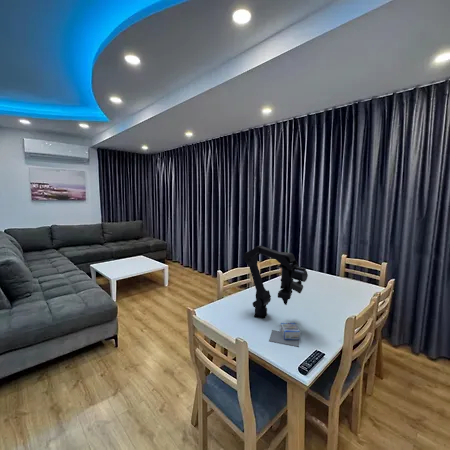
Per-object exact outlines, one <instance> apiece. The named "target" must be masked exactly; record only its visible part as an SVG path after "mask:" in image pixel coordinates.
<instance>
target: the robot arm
mask: <svg viewBox="0 0 450 450" xmlns="http://www.w3.org/2000/svg"><path fill="white" fill-rule="evenodd" d="M260 255H262V256H266V257H268V258H271V259H273V260H276V261H277V262H278V263H279V265H278V266H277V267H278V268H279V269H281V277H280V290H278V292H277V298H279V299H281V300H282V301H283V304H284V305H285V306H287V305H288V301H289V300H290V299H291V298H292V297H291V296H292V294H293V292H297V293H298V294H301V293H302V291H303V290H304V285H303V284H302V283H305V282H307V279H308V276H309V275H308V271H307V269H306V267H300V265H299V263H298V261H297V259H296V258H295V255H294V253H292V252H288V251H287V252H286V251H285V252H283V251H278V250H275V249H272V248H269V247H265V246H263V245H258V246H255V247H254V248H253V249H251V250H249V251H246V252H244V253H243V255H242V258H243V260H244V262H245V264H246V265H247V266H248V267H249V270H250V273H251V276H252V280H253V285H254V287H255V290H256V292H255V301H253V302H252V306H253V308H254V314H253V315H254V316H253V317H254V318H258V319H266V317H267V316H268V308H267V305H269V303H270V302H271V300H272V298H271V297H272V295H271V294H270V290H267V289H266V288H265V285H264V283H263V279H262V276H261V272H260V270H259V267H258V262H259V256H260ZM294 280H295V281H294Z"/></svg>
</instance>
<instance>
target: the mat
mask: <svg viewBox="0 0 450 450" xmlns="http://www.w3.org/2000/svg"><path fill="white" fill-rule="evenodd" d="M268 342H271V343H277V344H280V345H286V346H292V347H297V348H300V340H284V338H283V335H282V333H281V331H280V330H275V329H272V330H271V333H270V336H269V339H268Z"/></svg>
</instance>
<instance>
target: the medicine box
mask: <svg viewBox="0 0 450 450" xmlns="http://www.w3.org/2000/svg"><path fill="white" fill-rule="evenodd" d="M279 331H281V333H282V335H283V338H284V340H299V341H300V340H301V330H300V329H299V327H298V325H297V323H296V322H281V323H280V330H279Z"/></svg>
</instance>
